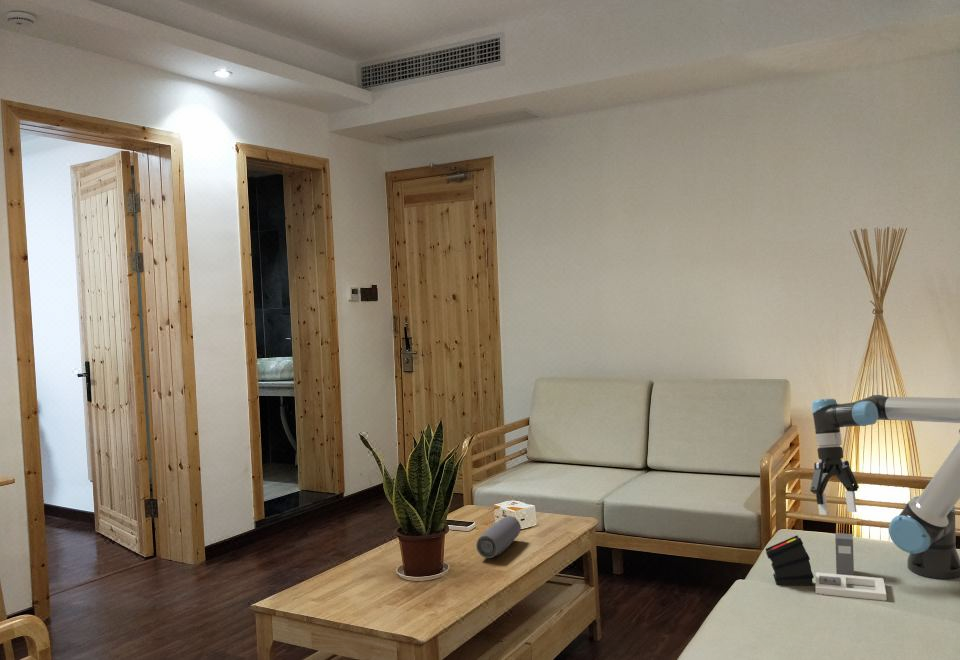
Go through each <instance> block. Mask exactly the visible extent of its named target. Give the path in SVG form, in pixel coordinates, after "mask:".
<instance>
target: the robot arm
mask: <svg viewBox="0 0 960 660" xmlns="http://www.w3.org/2000/svg"><path fill="white" fill-rule="evenodd" d="M811 406H812V407H811V408H812V414H811V415H812V416H813V423H814V430H815V437H816V438H815V440H816V446H817V447H818V448H817V449H816V450H817V457H818V459H819V460H820V462H819V461H818V462H814V464H813V465H814V470H813V475H812V480H811V484H810V485H811V486H810V489H809V492H811V493H812V494H814V495H815V496H816V497H815V498H816V504H817V506H818V514H819V516H828V515H829V512H828V511H829V510H828V505H827V502H828V501H827V494H826V493H824V492H825V490H826V487H827V485H828V484H829V480H830V478H831V477H834V476H835V477H836V478H837V479H838V480H839V481H840V483H841V485H842V486H843V487H844V488H845V491H844V494H845V501H846V502H845V503H846V509H847V512H848V513H857V512H858V511H857V506H856V505H857V504H856V493H855V492H858V489H859V488H860V486H859V484H858V481H857V480H856V478H855V477H856V476H854V474H853V471H852V469H851V466H850V462H849V460H842V459H844V450H843V447H842V444H843V443H842V434H841V428H847V427H860V426H861V427H866V426H871V425H874V424H876V423H877V421H878V420H882V421H909V422H911V421H912V422H930V423H953V424H960V397H920V396H919V397H918V396H917V397H915V396H914V397H913V396H885V395H882V394H873V395H870V396H868V397H865V398H862V399H859V400H856V401H854V402H847V403H837V400H836V399H835V398H824V399H822V398H820V399H815V400H813V401H812V403H811ZM958 433H959V435H960V429H959V430H958ZM955 444H956V445H955V446H954V447H953V449H951V451H950V453H949V455H947V457H946V458H945V460H944V461H943V462H942V464H941V466H940V467H939V468H938V470H937V471H936V473H935V474H934V475H933V477H932V478H931V480H930V481H929V482H928V484H927V485H926V487H925V488H924V489H923V491H922V492H921V493H920V495H919V496H914V497H913V498H911V499H910V500H909V501H908V502H907V504H906V505H905V506H904V508H903V509H902V511H901V512H900V513H899V514H898V515H896V516H894V518H892V520H891V521H890V523H889V525H888V534H889V536H890V537H889V538H890V540H891V541H892V542H893V544H894V545H895V546H896V547H897V548H898V549H900V550H901V551H902V552H905V553H908V557H907V560H906V561H907V562H906V563H907V564H906V565H907V568H908V570H909V571H910V572H912V573H914V574H916V575H918V576H921V577H926V578H931V579H942V580H948V579H957V578H959V577H960V556H959V554H958V550H957V548H956V541H957V540H956V514H957V513H956V507H955V506H956V504H957V503H958V501H959V500H960V439H959V440H958V441H957V443H955Z"/></svg>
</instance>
